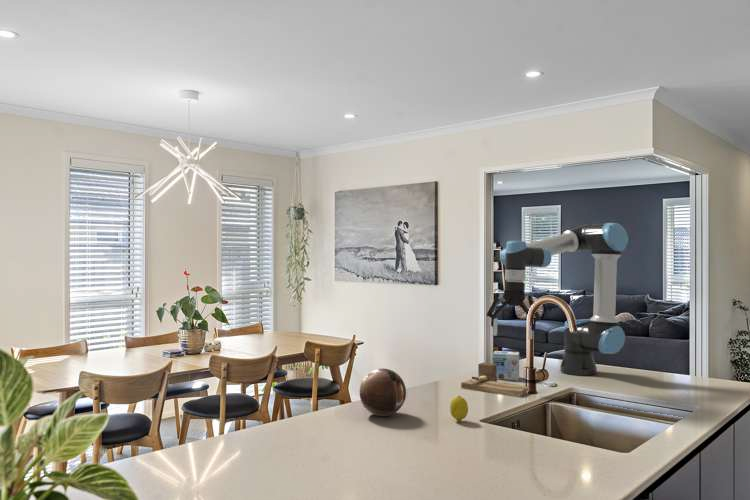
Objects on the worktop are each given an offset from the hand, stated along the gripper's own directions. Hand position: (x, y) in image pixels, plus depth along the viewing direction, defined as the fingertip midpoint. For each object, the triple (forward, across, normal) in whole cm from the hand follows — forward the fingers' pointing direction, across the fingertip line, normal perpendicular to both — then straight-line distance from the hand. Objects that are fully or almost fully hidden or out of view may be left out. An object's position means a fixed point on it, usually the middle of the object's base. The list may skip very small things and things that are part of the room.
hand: (512, 337), depth 224 cm
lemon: (+23, -3, -47) cm, 52 cm away
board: (+20, -6, -1) cm, 21 cm away
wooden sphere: (+24, -27, -52) cm, 63 cm away
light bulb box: (+20, -8, +22) cm, 30 cm away
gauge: (+21, -12, +2) cm, 24 cm away
